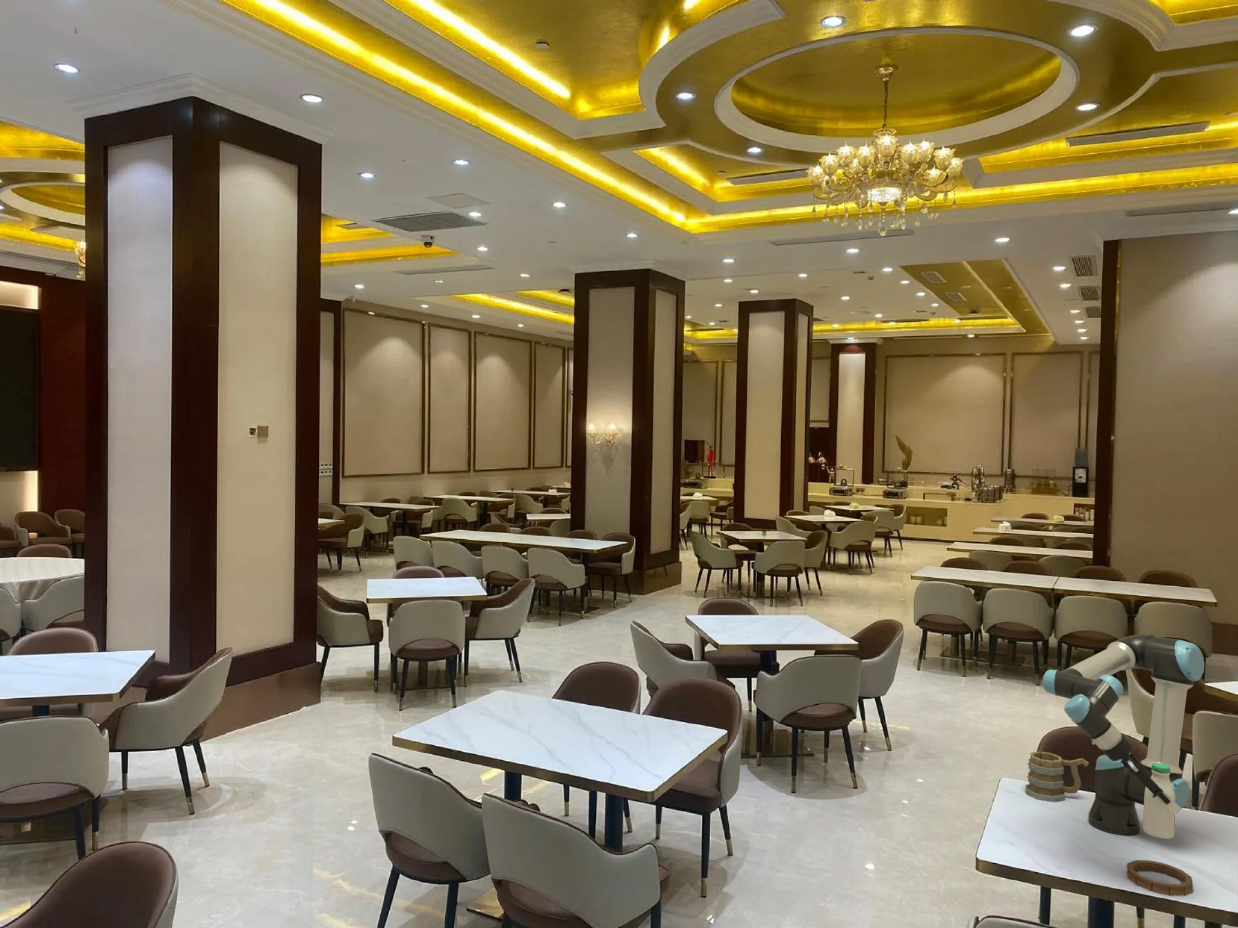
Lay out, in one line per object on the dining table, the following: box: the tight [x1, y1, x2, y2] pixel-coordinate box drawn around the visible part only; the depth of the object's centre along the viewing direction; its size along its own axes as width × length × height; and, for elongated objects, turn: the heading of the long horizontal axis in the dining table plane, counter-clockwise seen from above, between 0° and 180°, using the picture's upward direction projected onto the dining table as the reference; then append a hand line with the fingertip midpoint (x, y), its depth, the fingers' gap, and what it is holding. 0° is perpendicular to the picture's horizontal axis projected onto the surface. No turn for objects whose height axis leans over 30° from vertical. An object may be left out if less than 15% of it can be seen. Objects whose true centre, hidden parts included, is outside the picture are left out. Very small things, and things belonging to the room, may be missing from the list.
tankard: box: [1025, 751, 1089, 803], centre depth 321 cm, size 20×13×15 cm, turn 66°
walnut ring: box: [1126, 859, 1194, 896], centre depth 258 cm, size 16×16×2 cm
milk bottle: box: [1142, 763, 1176, 840], centre depth 258 cm, size 8×8×20 cm
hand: (1173, 805), depth 257 cm, fingers closed on milk bottle, 7 cm apart
